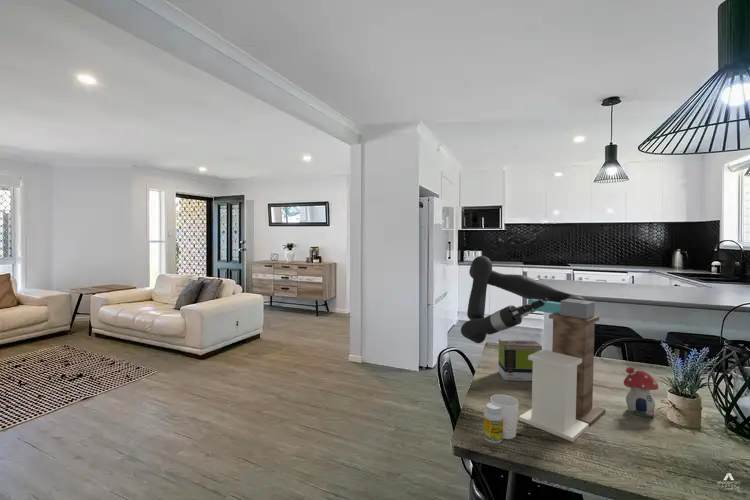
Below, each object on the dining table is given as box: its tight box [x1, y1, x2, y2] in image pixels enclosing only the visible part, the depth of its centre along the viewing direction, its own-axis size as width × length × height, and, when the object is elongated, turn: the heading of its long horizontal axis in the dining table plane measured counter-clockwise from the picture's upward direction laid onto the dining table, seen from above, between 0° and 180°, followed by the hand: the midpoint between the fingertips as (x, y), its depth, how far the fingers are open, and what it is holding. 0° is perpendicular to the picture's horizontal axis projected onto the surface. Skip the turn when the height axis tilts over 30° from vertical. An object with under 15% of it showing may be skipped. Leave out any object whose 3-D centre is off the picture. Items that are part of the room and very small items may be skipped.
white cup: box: [490, 393, 520, 440], centre depth 108 cm, size 8×8×10 cm
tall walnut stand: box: [548, 313, 606, 427], centre depth 122 cm, size 16×14×32 cm
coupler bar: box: [527, 299, 596, 320], centre depth 125 cm, size 20×7×5 cm, turn 41°
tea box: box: [498, 338, 543, 382], centre depth 152 cm, size 15×10×15 cm, turn 84°
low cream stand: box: [518, 349, 589, 443], centre depth 113 cm, size 16×12×21 cm
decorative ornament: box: [623, 366, 659, 419], centre depth 121 cm, size 9×6×15 cm
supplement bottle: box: [483, 402, 504, 444], centre depth 105 cm, size 5×5×10 cm
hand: (545, 301), depth 129 cm, fingers closed on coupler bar, 3 cm apart
